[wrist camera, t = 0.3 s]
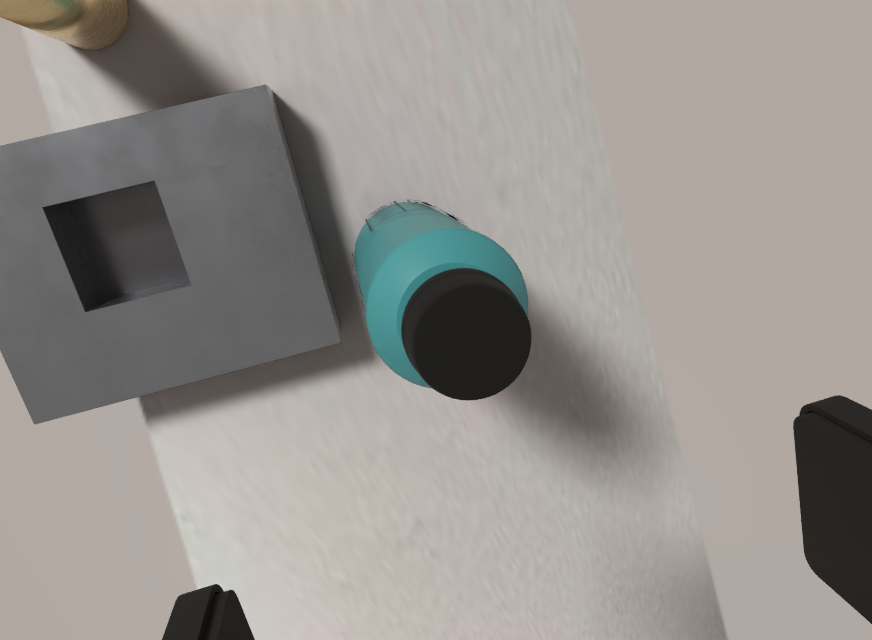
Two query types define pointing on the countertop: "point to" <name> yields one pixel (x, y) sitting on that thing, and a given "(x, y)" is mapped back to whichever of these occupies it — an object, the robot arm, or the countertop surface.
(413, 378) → the beverage bottle
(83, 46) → the bushing
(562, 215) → the countertop surface
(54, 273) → the jig
